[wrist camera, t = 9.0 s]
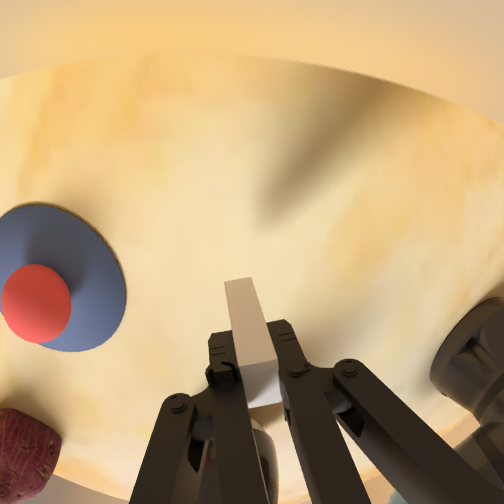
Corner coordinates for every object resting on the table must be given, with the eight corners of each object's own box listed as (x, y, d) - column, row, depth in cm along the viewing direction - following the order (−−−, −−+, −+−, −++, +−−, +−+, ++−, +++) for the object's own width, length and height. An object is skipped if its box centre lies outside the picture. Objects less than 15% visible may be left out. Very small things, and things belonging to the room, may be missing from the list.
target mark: (95, 185, 18) (95, 185, 18) (146, 341, 24) (146, 343, 24) (-35, 227, 17) (-36, 228, 17) (25, 354, 23) (24, 356, 23)
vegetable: (-3, 385, 28) (-63, 448, 13) (62, 413, 29) (12, 497, 14) (10, 439, 29) (-32, 502, 14) (70, 465, 31) (37, 541, 16)
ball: (57, 243, 20) (50, 272, 16) (82, 305, 23) (84, 345, 18) (-2, 266, 18) (-20, 299, 14) (26, 325, 20) (19, 367, 16)
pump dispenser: (153, 412, 28) (154, 550, 15) (249, 384, 28) (286, 533, 15) (197, 454, 33) (210, 563, 19) (277, 431, 33) (311, 544, 19)
